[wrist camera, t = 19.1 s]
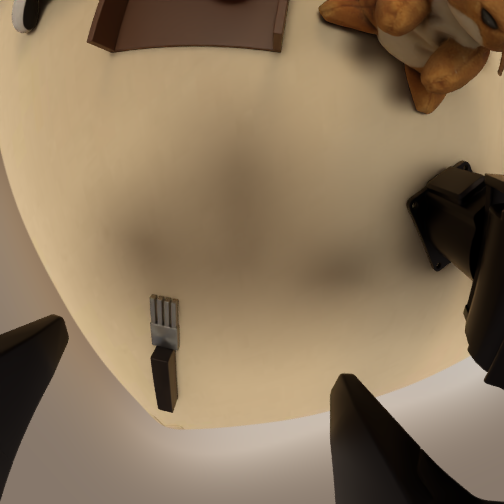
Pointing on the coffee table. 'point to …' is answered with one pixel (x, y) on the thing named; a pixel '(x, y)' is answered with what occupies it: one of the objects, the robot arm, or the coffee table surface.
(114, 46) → the serving tray
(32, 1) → the gaming controller
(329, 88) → the coffee table surface
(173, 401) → the fork
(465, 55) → the stuffed squirrel
